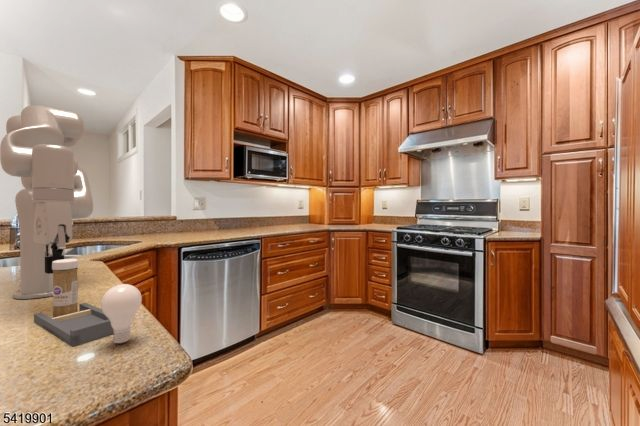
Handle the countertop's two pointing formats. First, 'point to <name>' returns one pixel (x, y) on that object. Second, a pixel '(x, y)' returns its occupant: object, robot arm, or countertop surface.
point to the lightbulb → (121, 309)
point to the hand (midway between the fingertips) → (54, 272)
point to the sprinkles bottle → (65, 287)
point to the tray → (77, 325)
